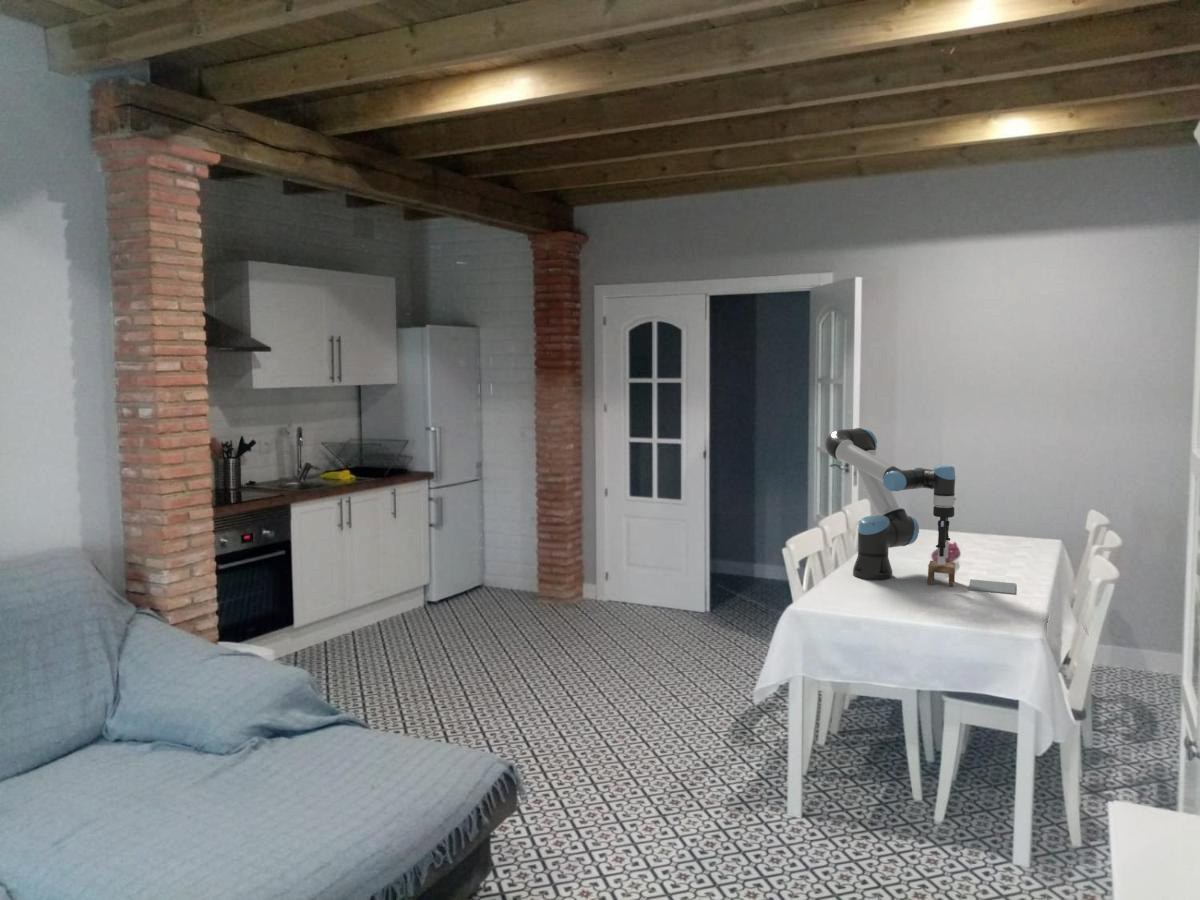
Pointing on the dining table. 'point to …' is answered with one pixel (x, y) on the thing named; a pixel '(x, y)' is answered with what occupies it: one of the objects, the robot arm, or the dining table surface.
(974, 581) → the mat
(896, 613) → the dining table surface
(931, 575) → the wooden stool
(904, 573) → the dining table surface
